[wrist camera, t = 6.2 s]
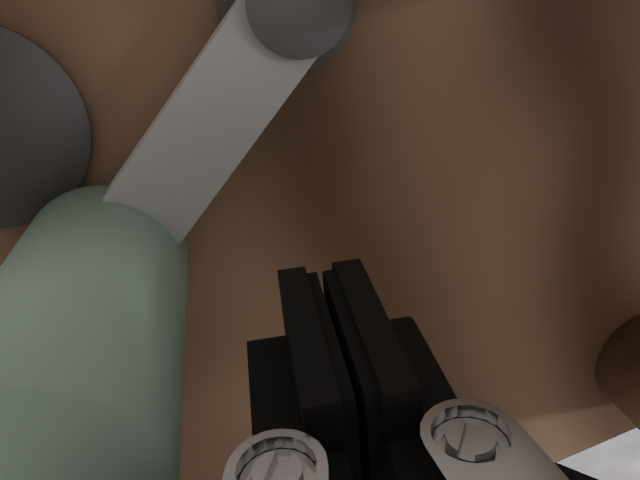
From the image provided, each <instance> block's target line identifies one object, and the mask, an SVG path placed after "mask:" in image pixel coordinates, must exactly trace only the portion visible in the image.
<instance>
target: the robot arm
mask: <svg viewBox="0 0 640 480" xmlns="http://www.w3.org/2000/svg"><path fill="white" fill-rule="evenodd" d="M277 273H278V281H279V289H280V297H281V305H282V313H283V321H284V329H285V335H284V336H277V337H270V338H264V339H257V340H251V341H247V358H248V375H249V391H250V407H251V424H252V437H250V438H248V439H247V440H246V441H244V442H243V443H241V444H240V445H239V446H238V447H237V448H236V449H235V450H234V452H233V453H232V454H231V455H230V457H229V459H228V461H227V464H226V466H225V469H224V474H223V479H222V480H598V479H595V478H593V477H590V476H588V475H585V474H583V473H580V472H578V471H575V470H573V469H570V468H568V467H565V466H563V465H560V464H558V463H555V462H553V461H552V460H551V458H550V457H549V456H548V455H547V454H546V453H545V452H544V451H543V450H542V448H541V447H540V446H539V445H538V444H537V443H536V442H535V441H534V440H533V438H532V437H531V436H530V435H529V434H528V433H527V432H526V431H525V430H524V428H523V427H522V426H521V425H520V424H519V423H518V422H517V421H516V420H515V418H513V417H512V416H511V415H510V414H509V413H507V412H506V411H505V410H504V409H502V408H500V407H498V406H496V405H494V404H492V403H490V402H486V401H482V400H478V399H471V398H457V397H456V395H455V393H454V391H453V389H452V388H451V386H450V384H449V382H448V380H447V379H446V377H445V375H444V373H443V371H442V370H441V368H440V366H439V364H438V362H437V360H436V359H435V357H434V355H433V353H432V351H431V350H430V348H429V346H428V344H427V342H426V341H425V339H424V337H423V335H422V333H421V331H420V330H419V328H418V326H417V324H416V322H415V321H414V319H413V318H412V317H410V316H408V317H401V318H395V319H389V318H388V316H387V314H386V311H385V309H384V307H383V305H382V303H381V301H380V299H379V297H378V295H377V293H376V291H375V289H374V287H373V284H372V282H371V280H370V278H369V276H368V274H367V272H366V270H365V268H364V266H363V264H362V262H361V260H360V259H352V260H345V261H338V262H332V270H326V271H323V272H322V277H323V289H324V294H323V291H322V288H321V284H320V281H319V278H318V275H317V272H312V273H307V272H306V269H305V266H303V267H296V268H289V269H282V270H277Z"/></svg>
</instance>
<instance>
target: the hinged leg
mask: <svg viewBox="0 0 640 480" xmlns="http://www.w3.org/2000/svg"><path fill="white" fill-rule="evenodd" d="M351 10H352V0H235V2H234V3H233V5H232V6H231V8H230V9H229V11H228V12H227V14H226V15H225V17H224V18H223V19H222V21H221V22H220V24H219V25H218V27H217V28H216V30H215V31H214V33H213V34H212V36H211V37H210V38H209V40H208V41H207V43H206V44H205V46H204V47H203V49H202V50H201V52H200V53H199V55H198V56H197V58H196V59H195V60H194V62H193V63H192V65H191V66H190V68H189V69H188V71H187V72H186V74H185V75H184V77H183V78H182V80H181V81H180V82H179V84H178V85H177V87H176V88H175V90H174V91H173V93H172V94H171V96H170V97H169V99H168V100H167V101H166V103H165V104H164V106H163V107H162V109H161V110H160V112H159V113H158V115H157V116H156V118H155V119H154V121H153V122H152V123H151V125H150V126H149V128H148V129H147V131H146V132H145V134H144V135H143V137H142V138H141V140H140V141H139V142H138V144H137V145H136V147H135V148H134V150H133V151H132V153H131V154H130V156H129V157H128V159H127V160H126V162H125V163H124V164H123V166H122V167H121V169H120V170H119V172H118V173H117V175H116V176H115V178H114V179H113V181H112V182H111V183H110V185H95V186H86V187H82V188H77V189H74V190H71V191H68V192H66V193H64V194H62V195H60V196H58V197H56V198H55V199H53V200H52V201H50V202H49V203H48V204H46V205H45V206H44V207H43V208H42V209H41V210H40V211H39V213H38V214H37V215H36V216H35V218H34V219H33V220H32V222H31V223H30V225H29V226H28V228H27V229H26V230H25V232H24V233H23V235H22V236H21V238H20V239H19V240H18V242H17V243H16V245H15V246H14V248H13V249H12V250H11V252H10V253H9V255H8V256H7V258H6V259H5V261H4V262H3V263H2V265H1V266H0V480H179V477H180V453H181V429H182V405H183V381H184V357H185V332H186V308H187V284H188V249H187V244H186V241H185V236H186V235H187V234H188V232H189V231H190V229H191V228H192V227H193V225H194V224H195V223H196V221H197V220H198V219H199V217H200V216H201V215H202V213H203V212H204V210H205V209H206V208H207V206H208V205H209V204H210V202H211V201H212V200H213V198H214V197H215V196H216V194H217V193H218V191H219V190H220V189H221V187H222V186H223V185H224V183H225V182H226V181H227V179H228V178H229V177H230V175H231V174H232V173H233V171H234V170H235V168H236V167H237V166H238V164H239V163H240V162H241V160H242V159H243V158H244V156H245V155H246V154H247V152H248V151H249V149H250V148H251V147H252V145H253V144H254V143H255V141H256V140H257V139H258V137H259V136H260V135H261V133H262V132H263V130H264V129H265V128H266V126H267V125H268V124H269V122H270V121H271V120H272V118H273V117H274V116H275V114H276V113H277V112H278V110H279V109H280V107H281V106H282V105H283V103H284V102H285V101H286V99H287V98H288V97H289V95H290V94H291V93H292V91H293V90H294V88H295V87H296V86H297V84H298V83H299V82H300V80H301V79H302V78H303V76H304V75H305V74H306V72H307V71H308V69H309V68H310V67H311V65H312V64H313V63H314V61H315V60H316V59H317V57H318V56H320V55H322V54H324V53H326V52H327V51H328V50H330V49H331V48H332V47H333V46H334V45H335V44H336V43H337V42H338V41H339V40H340V39H341V37H342V35H343V34H344V32H345V30H346V28H347V26H348V23H349V20H350V16H351Z"/></svg>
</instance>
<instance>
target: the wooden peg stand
mask: <svg viewBox="0 0 640 480" xmlns="http://www.w3.org/2000/svg"><path fill="white" fill-rule="evenodd" d="M234 2H235V0H0V266H1V265H2V263H3V262H4V261H5V259H6V258H7V256H8V255H9V253H10V252H11V250H12V249H13V248H14V246H15V245H16V243H17V242H18V240H19V239H20V238H21V236H22V235H23V233H24V232H25V230H26V229H27V228H28V226H29V225H30V223H31V222H32V220H33V219H34V218H35V216H36V215H37V214H38V213H39V211H40V210H41V209H42V208H43V207H44V206H45V205H46V204H48V203H49V202H50V201H52V200H53V199H55V198H56V197H58V196H60V195H62V194H64V193H66V192H68V191H71V190H74V189H77V188H82V187H86V186H95V185H110V183H111V182H112V181H113V179H114V178H115V176H116V175H117V173H118V172H119V170H120V169H121V167H122V166H123V164H124V163H125V162H126V160H127V159H128V157H129V156H130V154H131V153H132V151H133V150H134V148H135V147H136V145H137V144H138V142H139V141H140V140H141V138H142V137H143V135H144V134H145V132H146V131H147V129H148V128H149V126H150V125H151V123H152V122H153V121H154V119H155V118H156V116H157V115H158V113H159V112H160V110H161V109H162V107H163V106H164V104H165V103H166V101H167V100H168V99H169V97H170V96H171V94H172V93H173V91H174V90H175V88H176V87H177V85H178V84H179V82H180V81H181V80H182V78H183V77H184V75H185V74H186V72H187V71H188V69H189V68H190V66H191V65H192V63H193V62H194V60H195V59H196V58H197V56H198V55H199V53H200V52H201V50H202V49H203V47H204V46H205V44H206V43H207V41H208V40H209V38H210V37H211V36H212V34H213V33H214V31H215V30H216V28H217V27H218V25H219V24H220V22H221V21H222V19H223V18H224V17H225V15H226V14H227V12H228V11H229V9H230V8H231V6H232V5H233V3H234ZM185 241H186V244H187V249H188V284H187V308H186V332H185V357H184V381H183V405H182V429H181V453H180V477H179V480H222V479H223V474H224V469H225V466H226V464H227V461H228V459H229V457H230V455H231V454H232V453H233V452H234V450H235V449H236V448H237V447H238V446H239V445H240V444H241V443H243V442H244V441H246V440H247V439H248V438H250V437H252V424H251V407H250V391H249V375H248V358H247V341H251V340H257V339H264V338H270V337H277V336H284V335H285V329H284V321H283V313H282V305H281V297H280V289H279V281H278V273H277V270H282V269H289V268H296V267H303V266H305V269H306V272H307V273H312V272H317V275H318V278H319V281H320V284H321V288H322V291H323V294H324V289H323V277H322V272H323V271H326V270H332V262H338V261H345V260H352V259H360V260H361V262H362V264H363V266H364V268H365V270H366V272H367V274H368V276H369V278H370V280H371V282H372V284H373V287H374V289H375V291H376V293H377V295H378V297H379V299H380V301H381V303H382V305H383V307H384V309H385V311H386V314H387V316H388V318H389V319H395V318H401V317H408V316H410V317H412V318H413V319H414V321H415V322H416V324H417V326H418V328H419V330H420V331H421V333H422V335H423V337H424V339H425V341H426V342H427V344H428V346H429V348H430V350H431V351H432V353H433V355H434V357H435V359H436V360H437V362H438V364H439V366H440V368H441V370H442V371H443V373H444V375H445V377H446V379H447V380H448V382H449V384H450V386H451V388H452V389H453V391H454V393H455V395H456V397H457V398H471V399H478V400H482V401H486V402H490V403H492V404H494V405H496V406H498V407H500V408H502V409H504V410H505V411H506V412H507V413H509V414H510V415H511V416H512V417H513V418H515V420H516V421H517V422H518V423H519V424H520V425H521V426H522V427H523V428H524V430H525V431H526V432H527V433H528V434H529V435H530V436H531V437H532V438H533V440H534V441H535V442H536V443H537V444H538V445H539V446H540V447H541V448H542V450H543V451H544V452H545V453H546V454H547V455H548V456H549V457H550V458H551V460H552V461H553V462H555V463H556V462H558V461H560V460H563V459H565V458H567V457H570V456H572V455H574V454H577V453H579V452H581V451H583V450H586V449H588V448H590V447H593V446H595V445H597V444H600V443H602V442H604V441H606V440H609V439H611V438H613V437H616V436H618V435H620V434H623V433H625V432H627V431H629V430H632V429H634V428H636V427H637V428H638V429H639V430H640V0H352V10H351V16H350V20H349V23H348V26H347V28H346V30H345V32H344V34H343V35H342V37H341V39H340V40H339V41H338V42H337V43H336V44H335V45H334V46H333V47H332V48H331V49H330V50H328V51H327V52H326V53H324V54H322V55H320V56H318V57H317V59H316V60H315V61H314V63H313V64H312V65H311V67H310V68H309V69H308V71H307V72H306V74H305V75H304V76H303V78H302V79H301V80H300V82H299V83H298V84H297V86H296V87H295V88H294V90H293V91H292V93H291V94H290V95H289V97H288V98H287V99H286V101H285V102H284V103H283V105H282V106H281V107H280V109H279V110H278V112H277V113H276V114H275V116H274V117H273V118H272V120H271V121H270V122H269V124H268V125H267V126H266V128H265V129H264V130H263V132H262V133H261V135H260V136H259V137H258V139H257V140H256V141H255V143H254V144H253V145H252V147H251V148H250V149H249V151H248V152H247V154H246V155H245V156H244V158H243V159H242V160H241V162H240V163H239V164H238V166H237V167H236V168H235V170H234V171H233V173H232V174H231V175H230V177H229V178H228V179H227V181H226V182H225V183H224V185H223V186H222V187H221V189H220V190H219V191H218V193H217V194H216V196H215V197H214V198H213V200H212V201H211V202H210V204H209V205H208V206H207V208H206V209H205V210H204V212H203V213H202V215H201V216H200V217H199V219H198V220H197V221H196V223H195V224H194V225H193V227H192V228H191V229H190V231H189V232H188V234H187V235H186V236H185Z"/></svg>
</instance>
